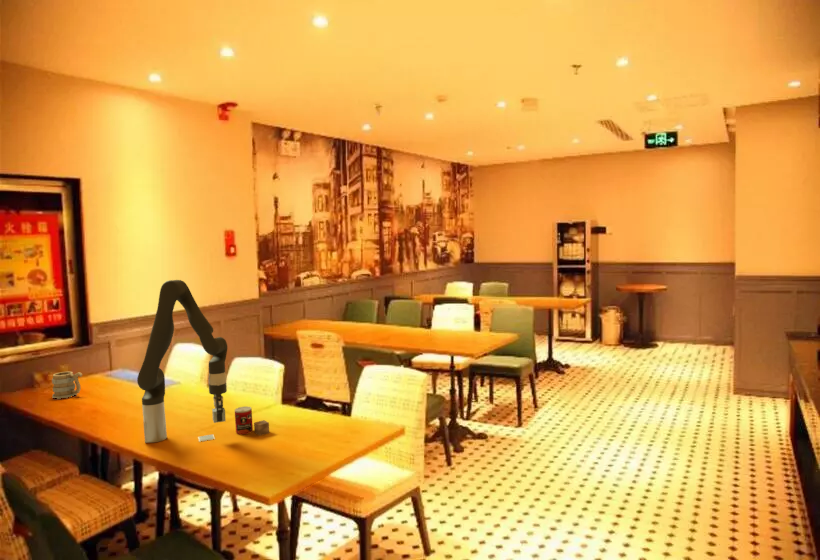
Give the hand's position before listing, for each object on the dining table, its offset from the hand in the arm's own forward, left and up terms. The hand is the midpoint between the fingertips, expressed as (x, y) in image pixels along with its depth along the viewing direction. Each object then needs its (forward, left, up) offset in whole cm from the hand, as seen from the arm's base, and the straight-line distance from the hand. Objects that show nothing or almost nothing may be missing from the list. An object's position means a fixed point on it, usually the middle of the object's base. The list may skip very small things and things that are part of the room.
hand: (219, 419), depth 264 cm
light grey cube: (0, 0, -1) cm, 1 cm away
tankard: (-73, +129, -10) cm, 148 cm away
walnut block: (+18, 0, -10) cm, 21 cm away
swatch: (-6, +6, -10) cm, 13 cm away
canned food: (+11, +6, -10) cm, 16 cm away
